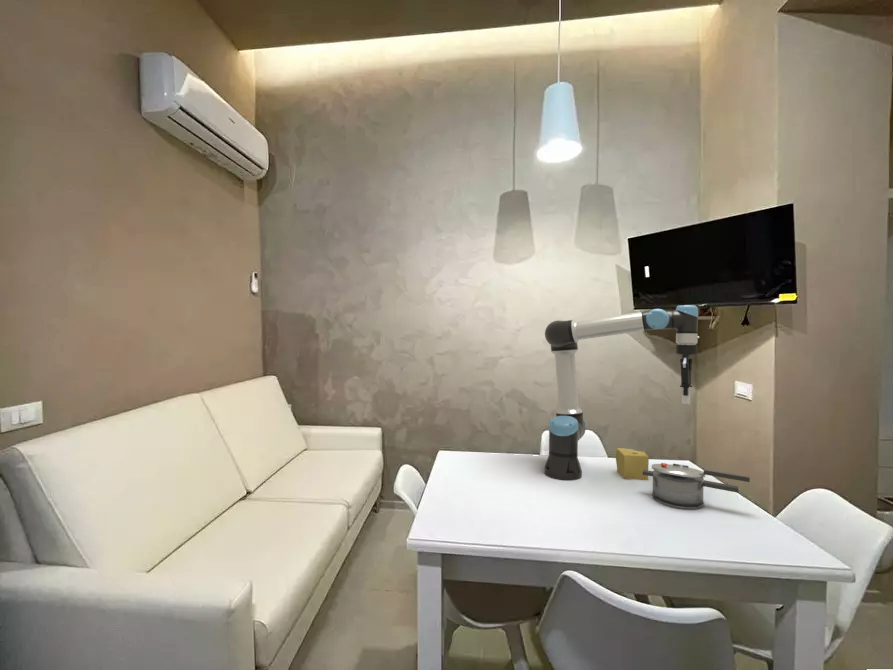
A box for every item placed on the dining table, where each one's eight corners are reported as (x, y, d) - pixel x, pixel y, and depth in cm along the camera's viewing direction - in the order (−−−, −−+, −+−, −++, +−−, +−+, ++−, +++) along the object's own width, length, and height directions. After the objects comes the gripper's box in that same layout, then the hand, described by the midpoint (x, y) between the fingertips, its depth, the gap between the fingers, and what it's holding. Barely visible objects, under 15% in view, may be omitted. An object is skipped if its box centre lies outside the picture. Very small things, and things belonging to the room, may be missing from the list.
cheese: (640, 471, 186) (640, 448, 186) (649, 480, 176) (650, 455, 175) (615, 470, 187) (615, 447, 187) (622, 479, 177) (623, 454, 176)
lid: (647, 471, 153) (647, 464, 153) (656, 464, 168) (656, 457, 168) (749, 489, 136) (749, 481, 136) (749, 479, 151) (749, 472, 151)
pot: (638, 500, 155) (638, 475, 155) (647, 485, 169) (647, 462, 169) (737, 521, 138) (738, 493, 138) (738, 503, 153) (738, 478, 152)
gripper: (695, 344, 164) (694, 406, 165) (699, 344, 175) (698, 402, 175) (673, 344, 169) (672, 404, 169) (678, 343, 179) (678, 400, 180)
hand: (685, 403), depth 172 cm, fingers closed
